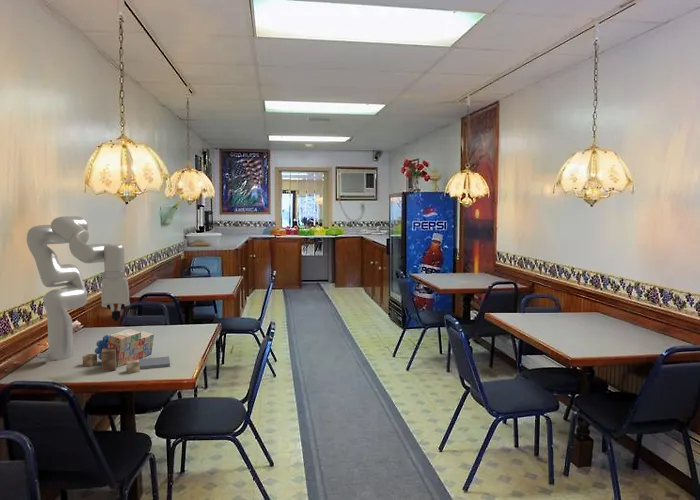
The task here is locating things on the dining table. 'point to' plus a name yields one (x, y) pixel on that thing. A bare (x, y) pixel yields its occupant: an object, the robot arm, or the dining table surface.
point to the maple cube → (133, 366)
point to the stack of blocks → (130, 345)
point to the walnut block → (108, 359)
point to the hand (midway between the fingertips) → (116, 320)
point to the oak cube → (89, 359)
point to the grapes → (102, 345)
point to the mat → (154, 362)
